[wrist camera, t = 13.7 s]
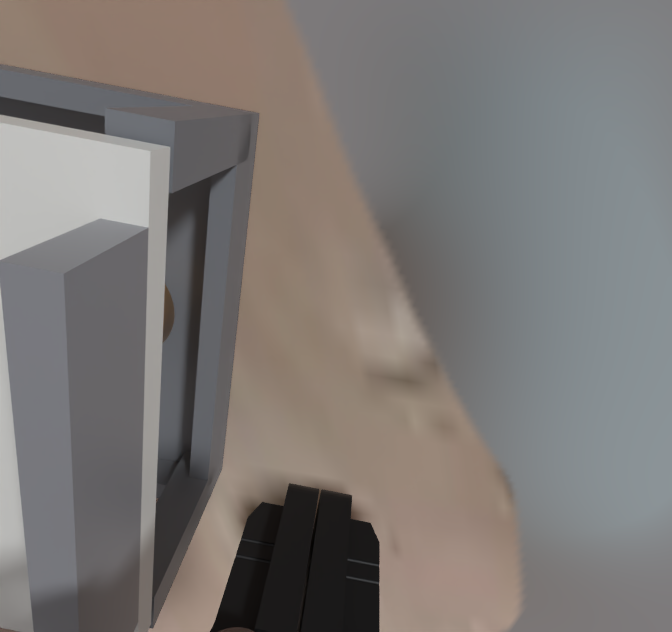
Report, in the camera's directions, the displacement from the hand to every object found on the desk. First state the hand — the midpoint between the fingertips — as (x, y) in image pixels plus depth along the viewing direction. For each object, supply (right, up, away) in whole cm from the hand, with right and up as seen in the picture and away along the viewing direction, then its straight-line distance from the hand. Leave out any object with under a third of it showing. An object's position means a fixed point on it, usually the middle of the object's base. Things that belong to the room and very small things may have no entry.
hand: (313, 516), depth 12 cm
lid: (-8, +2, +2) cm, 8 cm away
